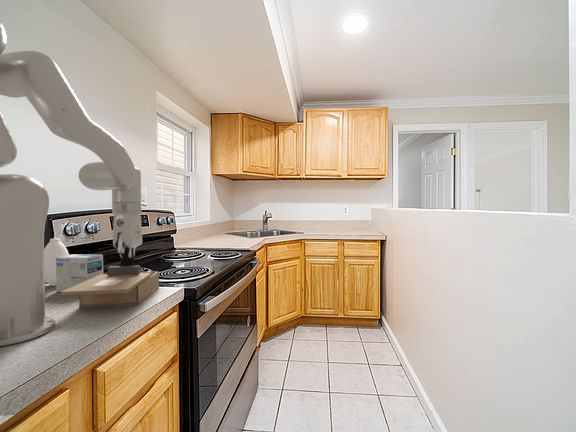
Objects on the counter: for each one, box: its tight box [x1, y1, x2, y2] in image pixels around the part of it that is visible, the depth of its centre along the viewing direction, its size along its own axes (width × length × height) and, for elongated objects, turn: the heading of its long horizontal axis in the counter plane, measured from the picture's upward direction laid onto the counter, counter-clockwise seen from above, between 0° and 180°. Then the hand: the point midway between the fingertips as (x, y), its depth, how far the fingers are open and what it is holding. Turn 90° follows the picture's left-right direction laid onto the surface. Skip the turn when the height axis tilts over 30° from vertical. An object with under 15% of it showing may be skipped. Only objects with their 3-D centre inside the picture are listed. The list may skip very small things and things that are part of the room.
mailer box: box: [78, 271, 160, 309], centre depth 83 cm, size 18×14×5 cm
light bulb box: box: [55, 253, 104, 293], centre depth 90 cm, size 11×7×11 cm, turn 84°
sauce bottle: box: [44, 230, 70, 287], centre depth 95 cm, size 8×8×18 cm
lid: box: [60, 265, 152, 296], centre depth 76 cm, size 18×14×3 cm
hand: (127, 270), depth 86 cm, fingers closed
